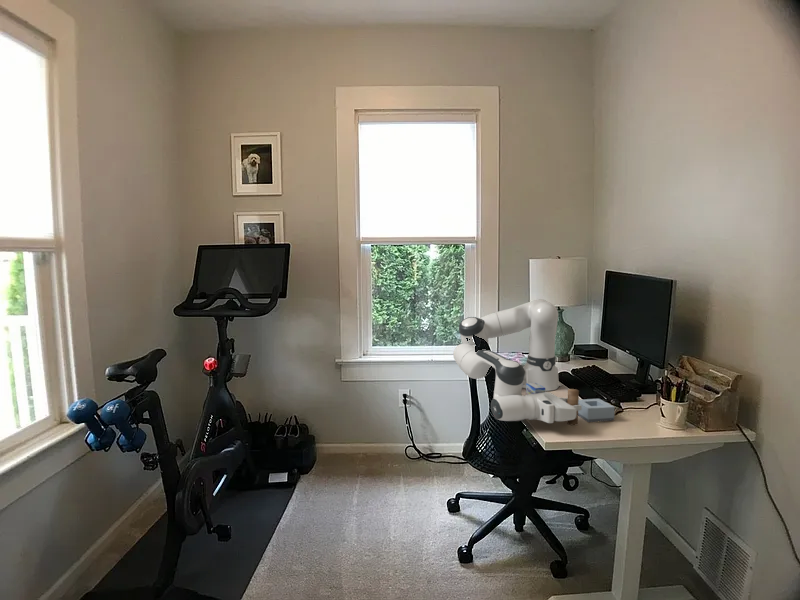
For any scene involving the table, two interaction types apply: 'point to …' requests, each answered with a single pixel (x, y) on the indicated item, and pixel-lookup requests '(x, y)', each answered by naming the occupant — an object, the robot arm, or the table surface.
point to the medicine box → (534, 388)
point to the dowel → (572, 400)
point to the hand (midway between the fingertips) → (575, 403)
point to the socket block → (596, 410)
